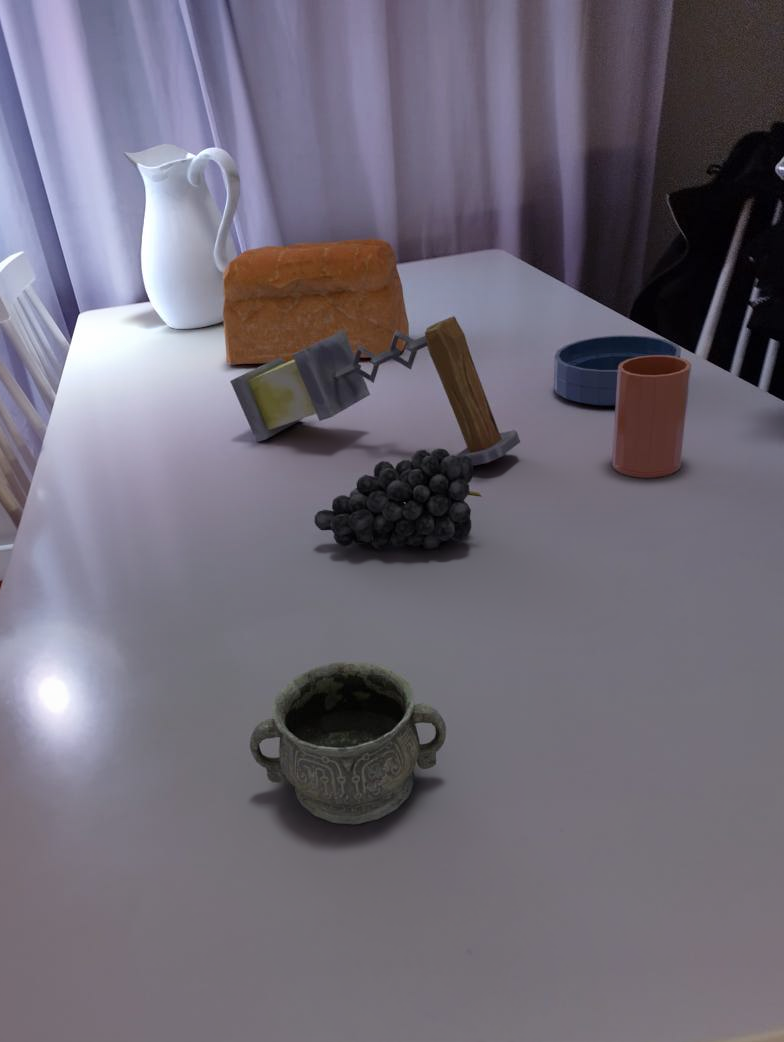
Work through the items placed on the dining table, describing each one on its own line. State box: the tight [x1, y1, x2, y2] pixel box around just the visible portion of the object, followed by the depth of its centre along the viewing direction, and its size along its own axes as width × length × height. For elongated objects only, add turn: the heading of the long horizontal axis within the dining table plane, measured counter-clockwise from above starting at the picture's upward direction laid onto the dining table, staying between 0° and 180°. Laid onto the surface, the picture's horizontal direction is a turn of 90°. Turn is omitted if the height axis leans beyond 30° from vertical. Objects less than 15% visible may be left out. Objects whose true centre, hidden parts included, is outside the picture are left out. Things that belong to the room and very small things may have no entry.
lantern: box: [229, 315, 521, 466], centre depth 104 cm, size 8×17×30 cm
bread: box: [223, 238, 410, 366], centre depth 138 cm, size 14×27×15 cm, turn 77°
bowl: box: [553, 334, 682, 407], centre depth 112 cm, size 14×14×4 cm
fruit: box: [314, 448, 483, 551], centre depth 84 cm, size 9×8×15 cm
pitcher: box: [123, 143, 241, 330], centre depth 158 cm, size 24×17×28 cm
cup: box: [611, 355, 692, 479], centre depth 91 cm, size 6×6×10 cm
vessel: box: [249, 661, 447, 826], centre depth 57 cm, size 12×9×6 cm
